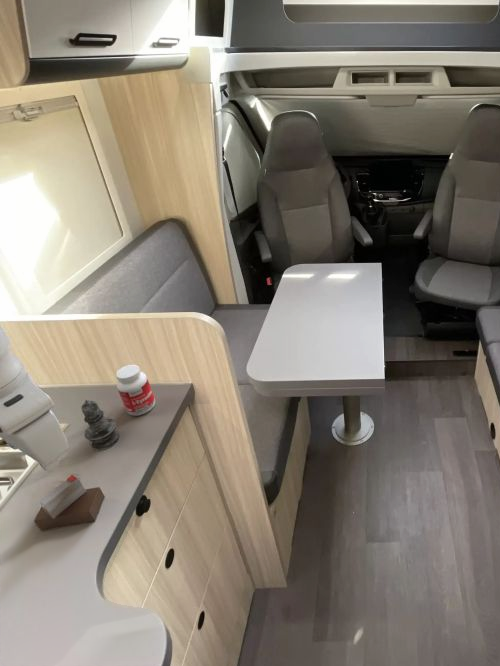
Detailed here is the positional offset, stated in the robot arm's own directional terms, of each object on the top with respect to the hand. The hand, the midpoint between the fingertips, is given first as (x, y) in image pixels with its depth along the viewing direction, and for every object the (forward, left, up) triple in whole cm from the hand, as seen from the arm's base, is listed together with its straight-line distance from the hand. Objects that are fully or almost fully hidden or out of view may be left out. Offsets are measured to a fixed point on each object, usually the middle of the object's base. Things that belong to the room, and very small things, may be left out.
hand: (34, 456), depth 72 cm
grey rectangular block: (0, +1, -14) cm, 14 cm away
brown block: (0, +1, -17) cm, 17 cm away
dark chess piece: (0, +18, -18) cm, 25 cm away
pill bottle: (+5, +27, -18) cm, 33 cm away
